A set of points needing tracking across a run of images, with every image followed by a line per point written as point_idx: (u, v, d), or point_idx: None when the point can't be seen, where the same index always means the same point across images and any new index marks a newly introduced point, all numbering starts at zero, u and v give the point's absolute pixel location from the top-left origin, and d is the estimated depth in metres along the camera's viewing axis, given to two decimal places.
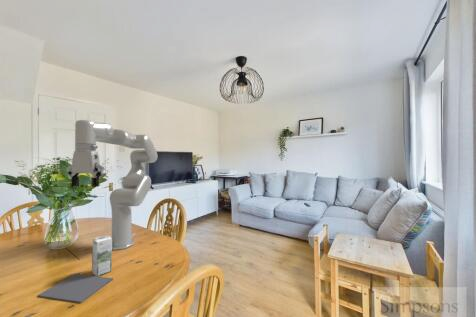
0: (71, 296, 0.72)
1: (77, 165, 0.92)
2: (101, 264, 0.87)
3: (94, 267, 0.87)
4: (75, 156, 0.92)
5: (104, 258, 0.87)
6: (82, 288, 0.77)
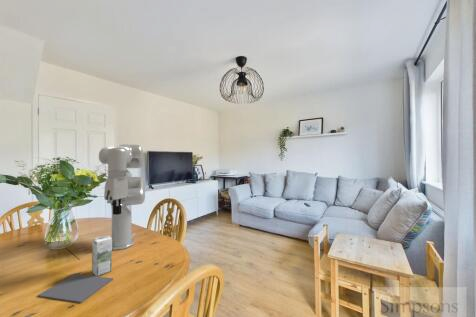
0: (71, 296, 0.72)
1: (119, 191, 0.96)
2: (101, 264, 0.87)
3: (94, 267, 0.87)
4: (117, 183, 0.94)
5: (104, 258, 0.87)
6: (82, 288, 0.77)
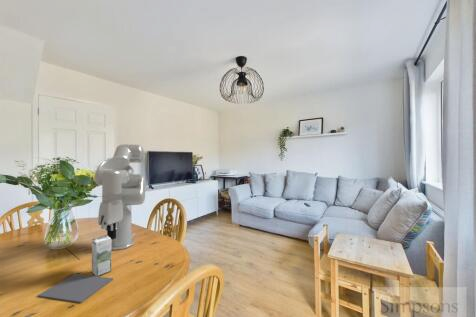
0: (71, 296, 0.72)
1: (113, 215, 0.92)
2: (101, 264, 0.86)
3: (94, 267, 0.87)
4: (111, 208, 0.91)
5: (103, 258, 0.87)
6: (82, 288, 0.77)
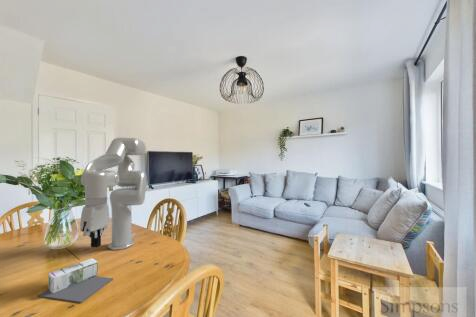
0: (71, 296, 0.72)
1: (98, 221, 0.84)
2: (85, 276, 0.82)
3: None
4: (95, 213, 0.83)
5: (78, 276, 0.80)
6: (82, 288, 0.77)
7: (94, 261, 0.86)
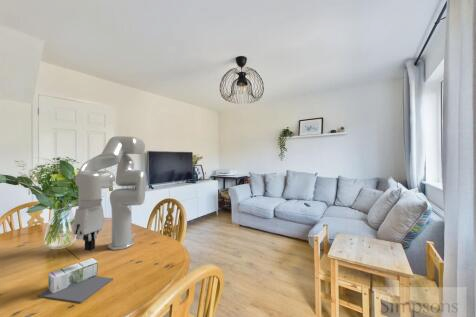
0: (71, 296, 0.72)
1: (91, 224, 0.81)
2: (85, 276, 0.82)
3: None
4: (88, 215, 0.80)
5: (78, 276, 0.80)
6: (82, 288, 0.77)
7: (94, 261, 0.86)
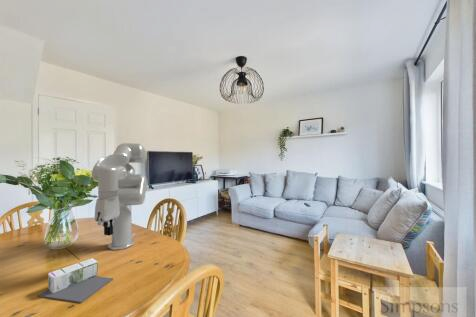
0: (71, 296, 0.72)
1: (110, 212, 0.92)
2: (85, 276, 0.82)
3: None
4: (107, 204, 0.91)
5: (78, 276, 0.80)
6: (82, 288, 0.77)
7: (94, 261, 0.86)
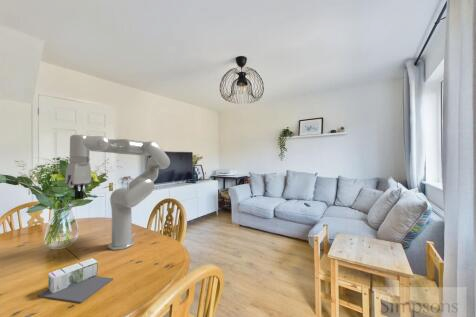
0: (71, 296, 0.72)
1: (80, 176, 0.99)
2: (85, 276, 0.82)
3: None
4: (78, 169, 0.98)
5: (78, 276, 0.80)
6: (82, 288, 0.77)
7: (94, 261, 0.86)
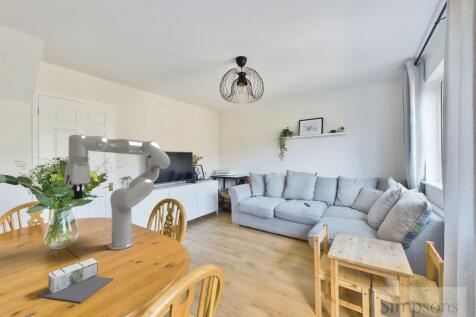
0: (71, 296, 0.72)
1: (79, 176, 0.99)
2: (85, 276, 0.82)
3: None
4: (76, 169, 0.98)
5: (78, 276, 0.80)
6: (82, 288, 0.77)
7: (94, 261, 0.86)
